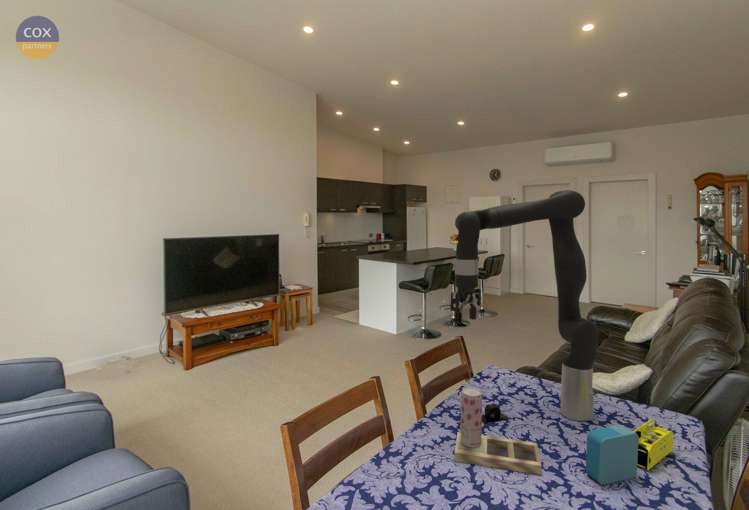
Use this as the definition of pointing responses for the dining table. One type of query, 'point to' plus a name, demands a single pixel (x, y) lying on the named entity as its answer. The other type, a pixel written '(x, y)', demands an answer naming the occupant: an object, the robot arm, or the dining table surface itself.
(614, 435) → the data package
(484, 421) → the black open box
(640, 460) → the yellow toy chassis
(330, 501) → the dining table surface
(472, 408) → the beverage can
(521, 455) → the board
